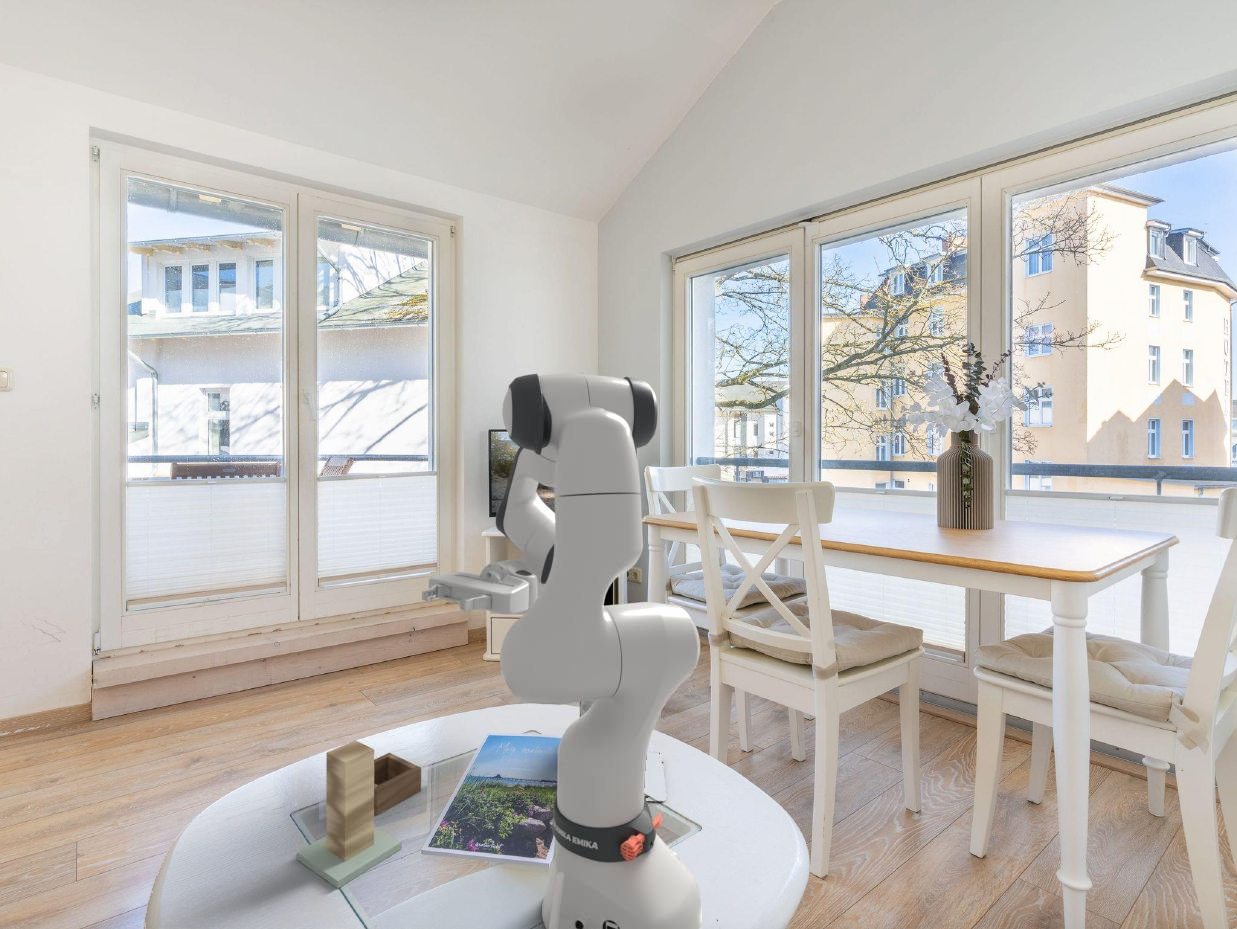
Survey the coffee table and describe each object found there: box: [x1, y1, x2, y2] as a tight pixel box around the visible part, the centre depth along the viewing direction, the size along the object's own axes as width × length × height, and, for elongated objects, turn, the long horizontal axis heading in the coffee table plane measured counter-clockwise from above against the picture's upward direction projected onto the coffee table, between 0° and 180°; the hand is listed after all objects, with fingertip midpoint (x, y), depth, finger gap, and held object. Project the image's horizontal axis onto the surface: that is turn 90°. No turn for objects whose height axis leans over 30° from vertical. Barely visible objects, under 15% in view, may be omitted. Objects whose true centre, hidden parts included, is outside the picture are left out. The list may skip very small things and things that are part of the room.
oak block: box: [325, 739, 375, 861], centre depth 90 cm, size 4×4×14 cm
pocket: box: [374, 752, 422, 816], centre depth 106 cm, size 8×8×4 cm
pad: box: [296, 825, 403, 889], centre depth 91 cm, size 10×10×1 cm
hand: (443, 601), depth 107 cm, fingers open, 8 cm apart
